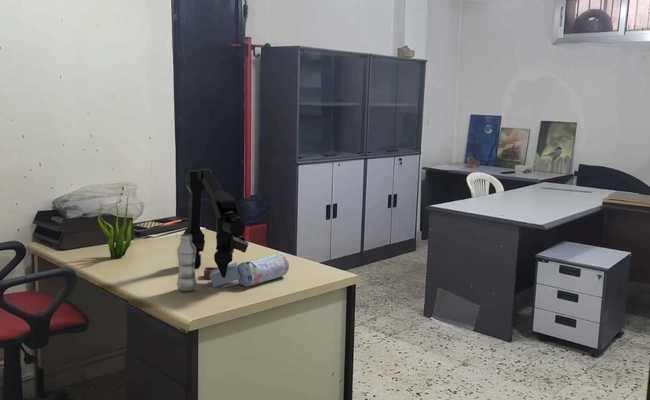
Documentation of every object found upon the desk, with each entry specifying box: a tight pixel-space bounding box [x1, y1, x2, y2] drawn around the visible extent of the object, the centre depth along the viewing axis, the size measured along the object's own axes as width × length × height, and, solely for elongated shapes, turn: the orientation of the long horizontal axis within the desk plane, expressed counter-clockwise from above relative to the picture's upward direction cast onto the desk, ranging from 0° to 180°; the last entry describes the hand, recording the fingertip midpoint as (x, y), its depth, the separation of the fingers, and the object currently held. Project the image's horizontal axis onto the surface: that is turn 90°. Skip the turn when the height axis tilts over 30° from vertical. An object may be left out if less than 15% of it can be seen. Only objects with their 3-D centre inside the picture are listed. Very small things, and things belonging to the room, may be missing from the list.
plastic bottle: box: [176, 233, 197, 292], centre depth 212 cm, size 6×7×20 cm
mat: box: [206, 280, 242, 289], centre depth 221 cm, size 12×8×1 cm, turn 96°
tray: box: [203, 266, 218, 280], centre depth 231 cm, size 16×5×3 cm, turn 96°
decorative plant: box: [97, 190, 143, 259], centre depth 255 cm, size 18×30×15 cm
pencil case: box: [237, 252, 290, 287], centre depth 226 cm, size 21×9×10 cm, turn 139°
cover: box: [209, 261, 240, 287], centre depth 220 cm, size 10×7×4 cm
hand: (224, 273), depth 220 cm, fingers open, 9 cm apart
